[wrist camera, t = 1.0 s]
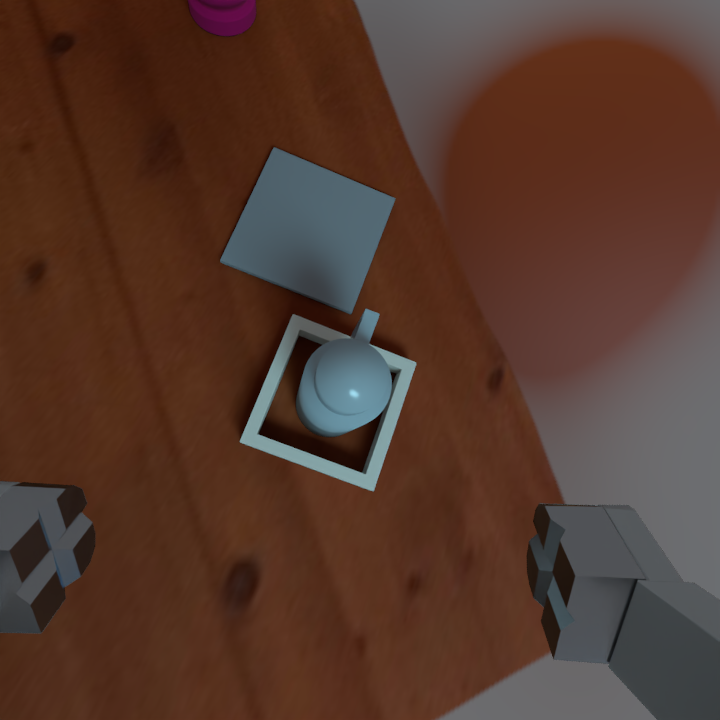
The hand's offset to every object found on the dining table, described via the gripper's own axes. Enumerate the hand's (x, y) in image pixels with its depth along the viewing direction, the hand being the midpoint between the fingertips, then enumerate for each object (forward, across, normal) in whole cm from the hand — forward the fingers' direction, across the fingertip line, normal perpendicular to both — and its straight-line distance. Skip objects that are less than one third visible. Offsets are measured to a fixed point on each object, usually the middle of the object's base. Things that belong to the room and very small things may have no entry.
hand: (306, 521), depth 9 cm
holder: (+29, +3, +14) cm, 32 cm away
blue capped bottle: (+30, +2, +13) cm, 32 cm away
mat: (+38, +5, +1) cm, 38 cm away
